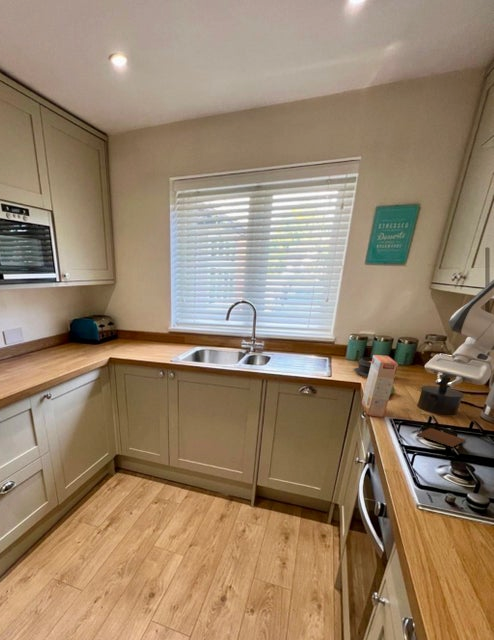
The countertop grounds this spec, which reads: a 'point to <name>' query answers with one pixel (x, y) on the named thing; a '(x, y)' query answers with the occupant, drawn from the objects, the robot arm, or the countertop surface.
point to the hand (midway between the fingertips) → (443, 385)
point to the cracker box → (379, 385)
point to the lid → (443, 389)
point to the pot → (438, 404)
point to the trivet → (441, 437)
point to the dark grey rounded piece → (364, 366)
